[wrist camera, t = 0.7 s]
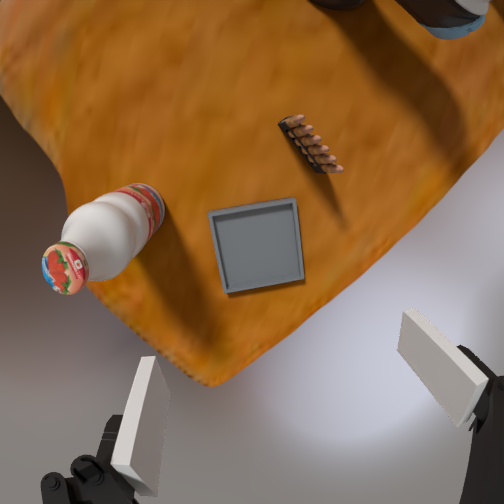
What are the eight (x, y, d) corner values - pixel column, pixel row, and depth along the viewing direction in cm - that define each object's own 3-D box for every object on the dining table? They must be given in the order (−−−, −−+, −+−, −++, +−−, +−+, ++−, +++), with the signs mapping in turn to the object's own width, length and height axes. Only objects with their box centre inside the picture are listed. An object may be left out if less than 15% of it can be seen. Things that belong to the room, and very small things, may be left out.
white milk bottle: (107, 194, 47) (9, 241, 21) (154, 173, 47) (78, 202, 21) (127, 242, 50) (52, 326, 24) (174, 224, 50) (125, 303, 24)
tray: (293, 197, 51) (295, 198, 49) (301, 274, 55) (304, 278, 54) (208, 211, 50) (207, 213, 48) (224, 288, 55) (224, 293, 53)
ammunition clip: (324, 166, 49) (351, 171, 38) (316, 172, 50) (342, 179, 38) (285, 117, 46) (304, 107, 35) (277, 123, 46) (293, 115, 35)
